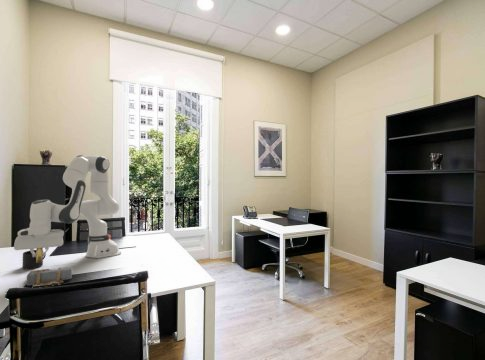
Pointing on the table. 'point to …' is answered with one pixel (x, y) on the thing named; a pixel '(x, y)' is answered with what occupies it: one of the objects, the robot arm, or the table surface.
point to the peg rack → (48, 282)
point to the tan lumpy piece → (39, 270)
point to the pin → (39, 254)
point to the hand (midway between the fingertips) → (39, 256)
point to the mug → (30, 261)
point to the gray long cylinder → (49, 276)
